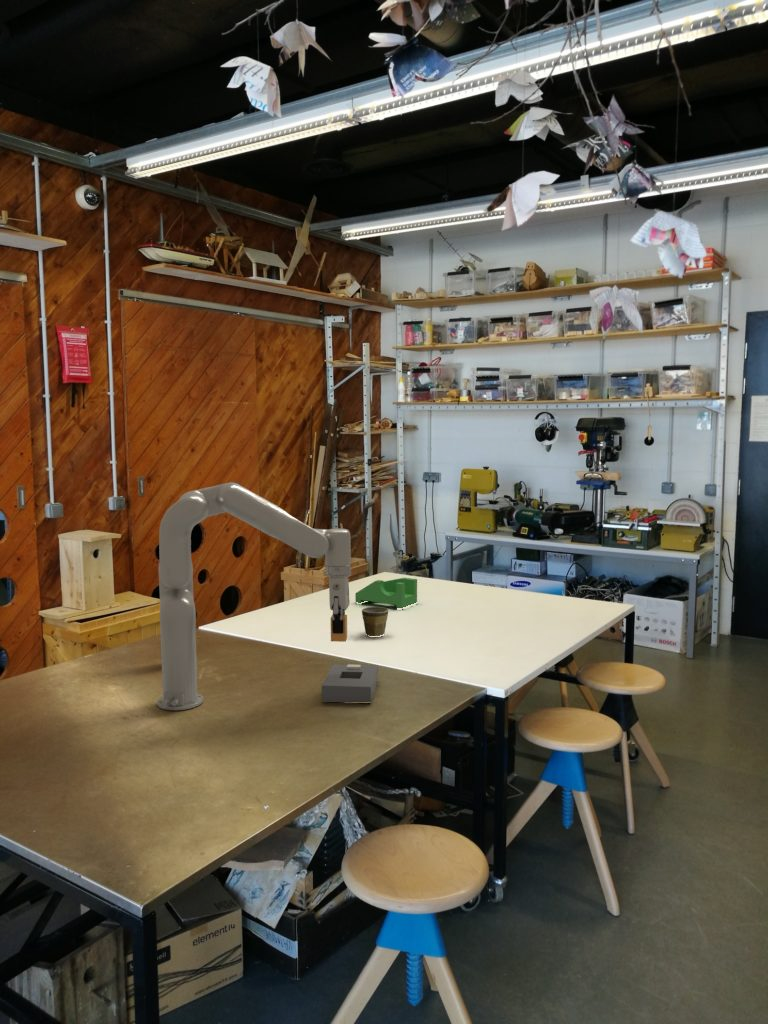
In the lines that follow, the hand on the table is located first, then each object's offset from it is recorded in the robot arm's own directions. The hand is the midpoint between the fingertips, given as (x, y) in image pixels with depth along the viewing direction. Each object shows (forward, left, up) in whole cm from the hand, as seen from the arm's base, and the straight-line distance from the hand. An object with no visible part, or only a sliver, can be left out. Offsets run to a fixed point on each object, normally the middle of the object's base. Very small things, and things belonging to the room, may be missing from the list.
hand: (339, 630), depth 228 cm
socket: (-3, -4, -18) cm, 18 cm away
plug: (0, 0, -3) cm, 3 cm away
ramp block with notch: (+112, -4, -18) cm, 114 cm away
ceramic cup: (+61, -4, -18) cm, 64 cm away
